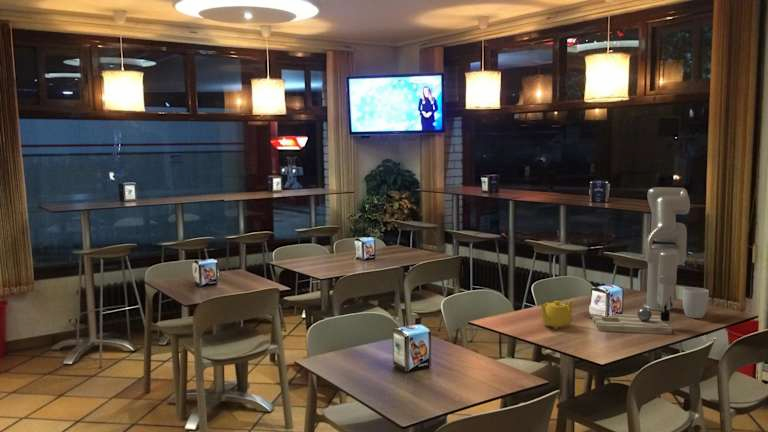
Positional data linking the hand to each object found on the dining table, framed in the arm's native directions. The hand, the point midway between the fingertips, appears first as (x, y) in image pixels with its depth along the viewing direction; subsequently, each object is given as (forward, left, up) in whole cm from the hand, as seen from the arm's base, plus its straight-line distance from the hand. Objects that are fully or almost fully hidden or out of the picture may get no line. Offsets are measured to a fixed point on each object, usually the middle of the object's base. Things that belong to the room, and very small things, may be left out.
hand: (664, 320), depth 289 cm
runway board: (-1, -14, -3) cm, 15 cm away
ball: (-1, -8, +2) cm, 9 cm away
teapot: (+4, -47, -4) cm, 48 cm away
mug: (-22, +20, -4) cm, 30 cm away
